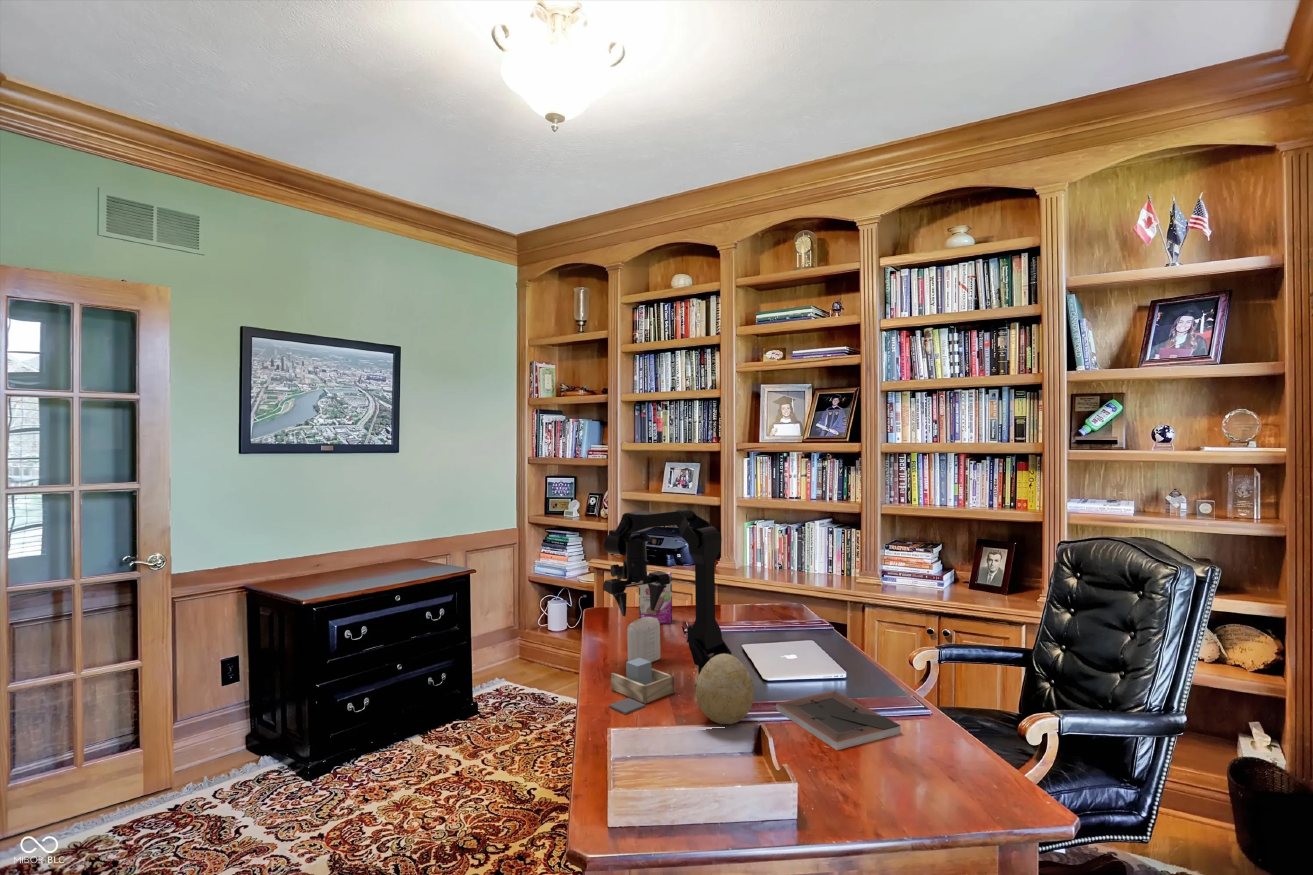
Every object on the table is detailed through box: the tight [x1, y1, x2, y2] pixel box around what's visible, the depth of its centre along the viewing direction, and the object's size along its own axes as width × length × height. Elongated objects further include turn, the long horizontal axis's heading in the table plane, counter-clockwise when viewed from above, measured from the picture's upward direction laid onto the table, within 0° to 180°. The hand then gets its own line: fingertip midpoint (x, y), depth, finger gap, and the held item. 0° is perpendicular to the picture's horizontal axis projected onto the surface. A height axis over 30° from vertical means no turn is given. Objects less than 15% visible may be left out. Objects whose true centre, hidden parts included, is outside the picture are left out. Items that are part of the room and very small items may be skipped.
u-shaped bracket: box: [610, 667, 675, 705], centre depth 171 cm, size 13×10×4 cm
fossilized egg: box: [695, 654, 755, 725], centre depth 152 cm, size 13×13×15 cm
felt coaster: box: [608, 697, 646, 715], centre depth 161 cm, size 6×6×1 cm
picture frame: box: [776, 690, 902, 751], centre depth 151 cm, size 16×2×22 cm
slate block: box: [625, 658, 652, 685], centre depth 172 cm, size 4×4×7 cm
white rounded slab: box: [626, 617, 661, 663], centre depth 192 cm, size 10×4×12 cm, turn 134°
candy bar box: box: [638, 571, 673, 625], centre depth 230 cm, size 11×5×16 cm, turn 91°
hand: (638, 613), depth 191 cm, fingers open, 9 cm apart
